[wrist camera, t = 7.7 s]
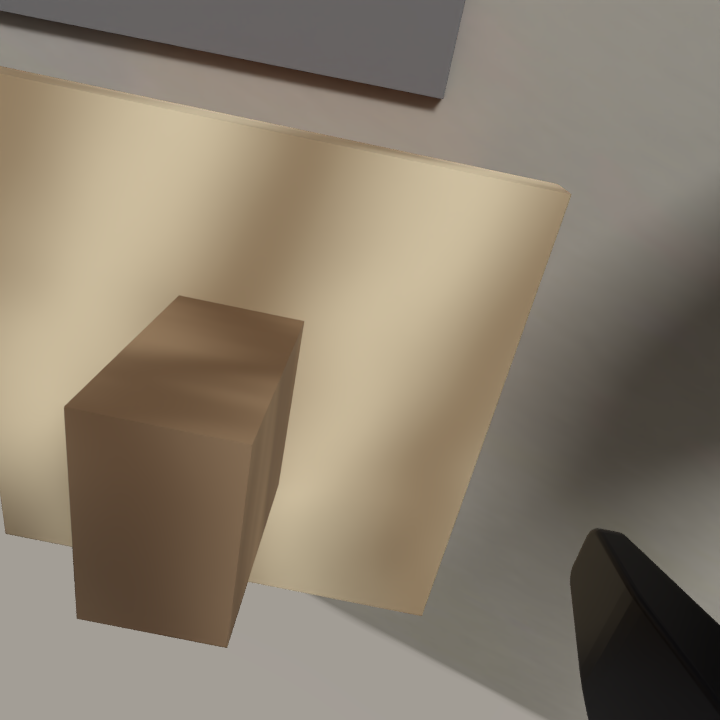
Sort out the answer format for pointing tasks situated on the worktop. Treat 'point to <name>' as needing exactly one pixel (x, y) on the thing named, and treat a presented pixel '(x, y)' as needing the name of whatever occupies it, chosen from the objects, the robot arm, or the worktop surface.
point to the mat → (288, 33)
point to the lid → (245, 351)
